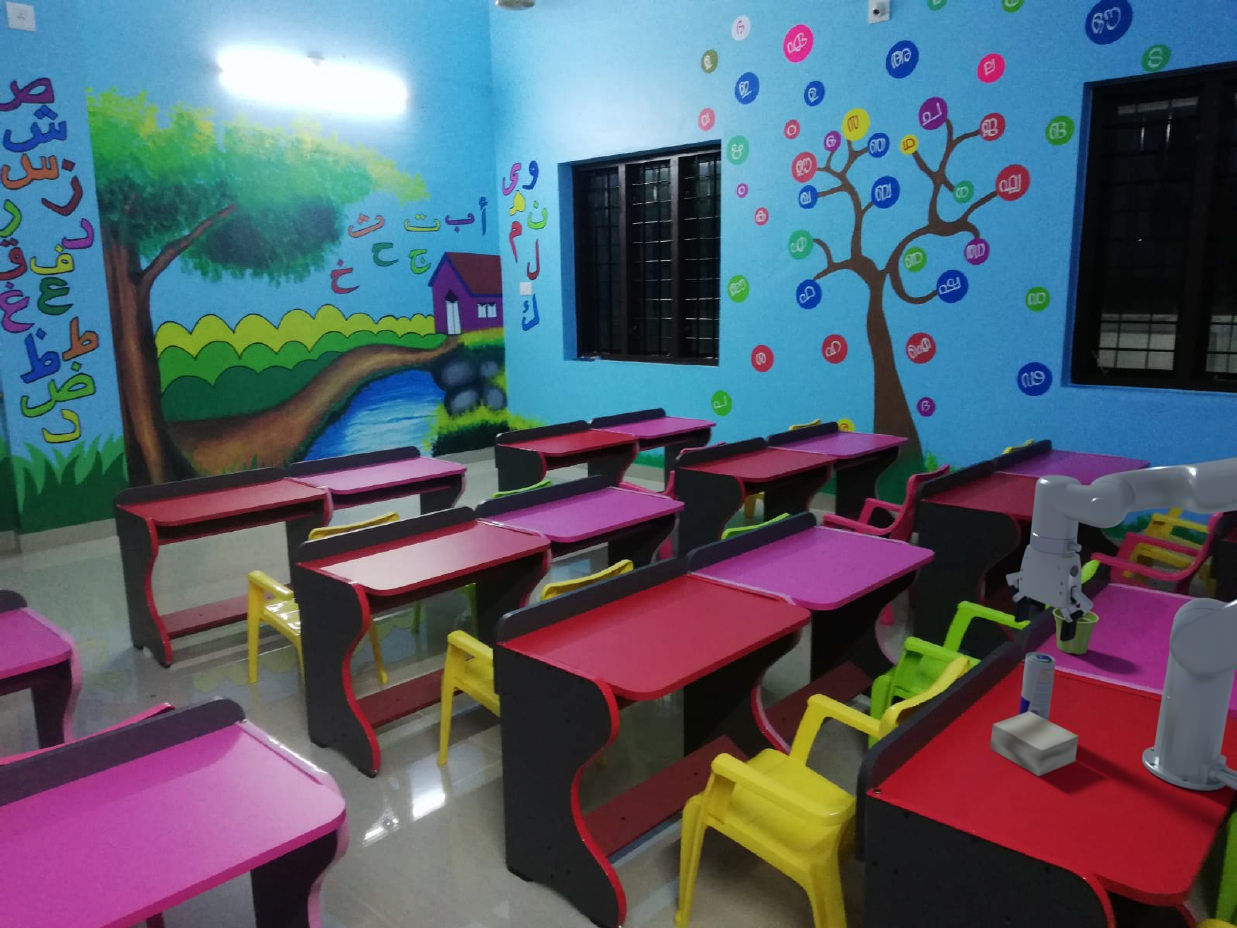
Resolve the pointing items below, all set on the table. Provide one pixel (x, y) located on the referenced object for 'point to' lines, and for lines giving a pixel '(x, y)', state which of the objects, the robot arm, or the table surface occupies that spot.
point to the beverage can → (1037, 684)
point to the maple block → (1034, 743)
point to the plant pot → (1082, 632)
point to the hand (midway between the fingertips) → (1043, 630)
